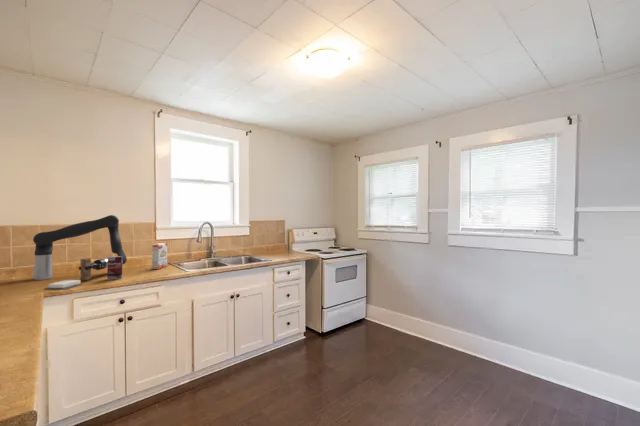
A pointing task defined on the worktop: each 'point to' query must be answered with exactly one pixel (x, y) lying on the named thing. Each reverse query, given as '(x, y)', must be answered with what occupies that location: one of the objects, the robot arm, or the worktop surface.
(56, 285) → the teal book
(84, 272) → the walnut block
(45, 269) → the robot arm
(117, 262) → the supplement box
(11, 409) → the worktop surface
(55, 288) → the mat
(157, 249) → the cracker box
